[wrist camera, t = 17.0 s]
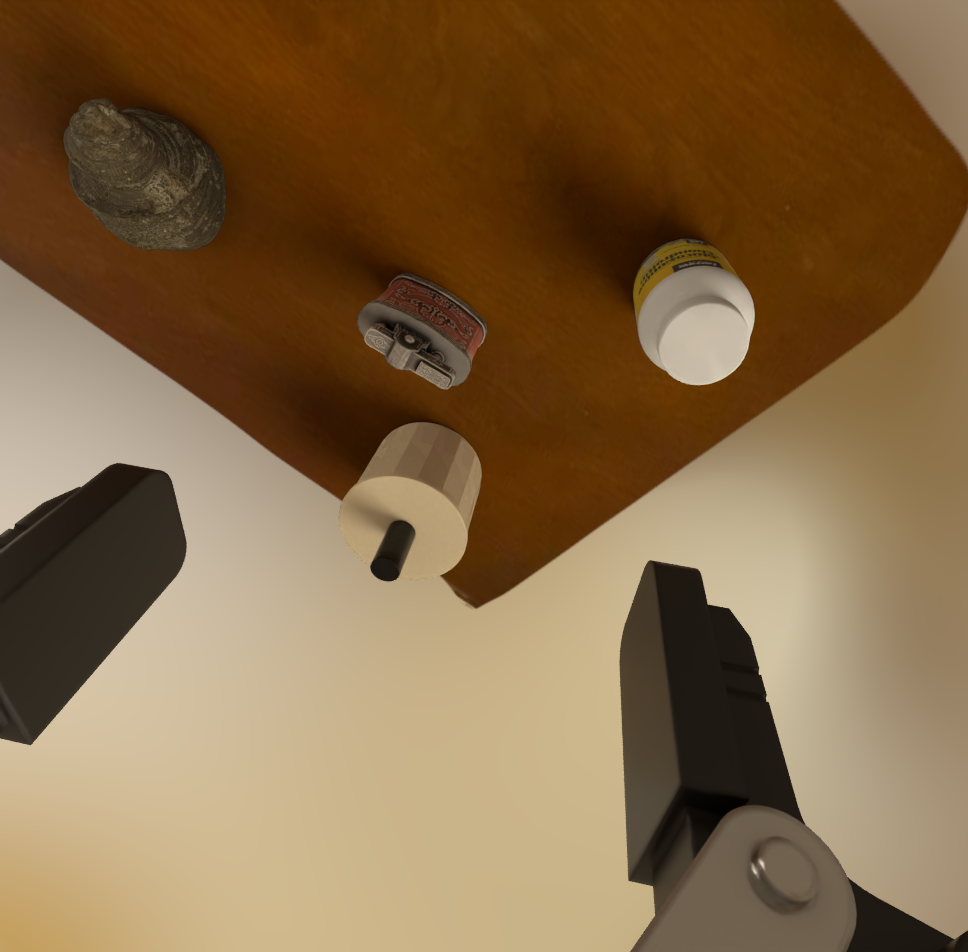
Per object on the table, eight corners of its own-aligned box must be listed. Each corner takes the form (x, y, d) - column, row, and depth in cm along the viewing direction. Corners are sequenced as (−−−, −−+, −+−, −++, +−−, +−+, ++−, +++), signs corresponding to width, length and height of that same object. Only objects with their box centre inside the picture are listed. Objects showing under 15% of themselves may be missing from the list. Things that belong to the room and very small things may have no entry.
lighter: (383, 300, 45) (335, 348, 37) (401, 262, 43) (356, 302, 35) (473, 355, 46) (447, 413, 38) (495, 320, 45) (472, 372, 36)
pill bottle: (732, 230, 39) (777, 277, 29) (725, 326, 42) (763, 396, 33) (630, 242, 40) (641, 291, 31) (631, 333, 44) (642, 403, 34)
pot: (487, 432, 50) (469, 488, 43) (476, 520, 55) (459, 582, 48) (377, 413, 51) (342, 465, 44) (377, 502, 56) (346, 561, 49)
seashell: (247, 170, 36) (100, 16, 32) (107, 307, 35) (-58, 165, 32) (262, 212, 46) (153, 100, 43) (154, 317, 46) (35, 212, 42)
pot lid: (475, 480, 43) (460, 527, 39) (463, 580, 49) (450, 632, 44) (341, 457, 44) (311, 500, 39) (345, 558, 50) (320, 606, 45)
